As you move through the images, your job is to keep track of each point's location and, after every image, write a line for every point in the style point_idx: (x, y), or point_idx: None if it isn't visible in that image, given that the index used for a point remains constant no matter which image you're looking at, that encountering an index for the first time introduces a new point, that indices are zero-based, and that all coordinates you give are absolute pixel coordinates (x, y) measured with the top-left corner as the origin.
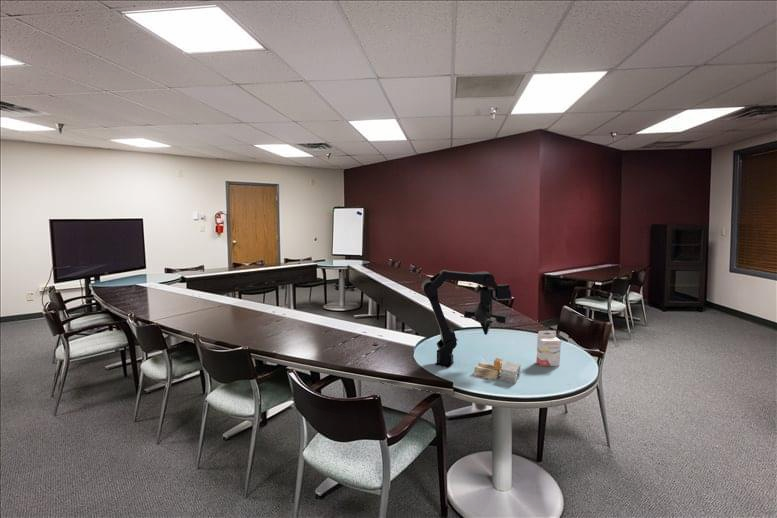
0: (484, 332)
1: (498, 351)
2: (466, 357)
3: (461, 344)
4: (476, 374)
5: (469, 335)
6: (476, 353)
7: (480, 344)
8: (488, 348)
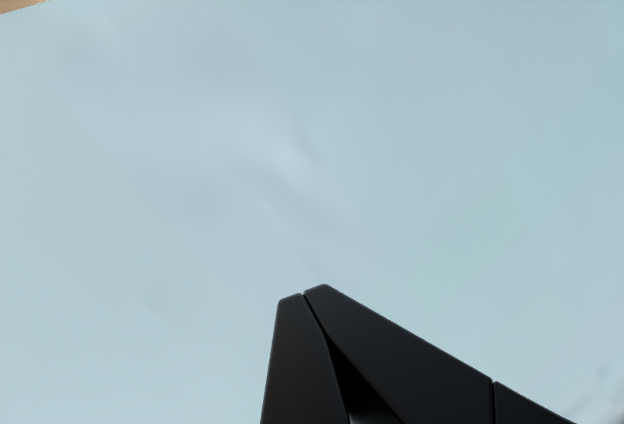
0: (344, 311)
1: None
2: (427, 74)
3: (565, 261)
4: None
5: (568, 400)
6: (398, 218)
7: None
8: None
